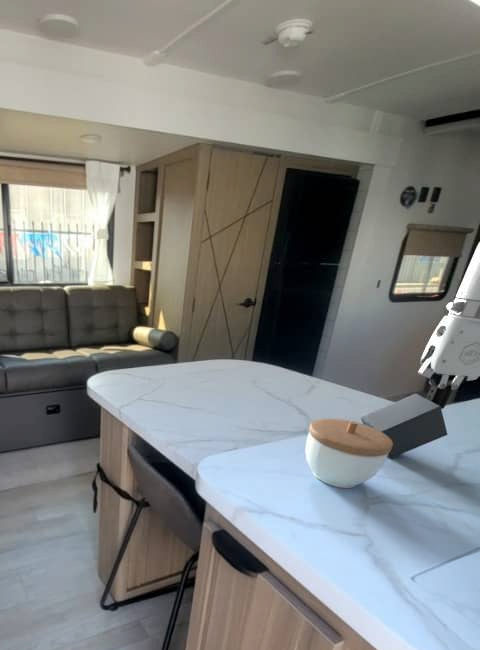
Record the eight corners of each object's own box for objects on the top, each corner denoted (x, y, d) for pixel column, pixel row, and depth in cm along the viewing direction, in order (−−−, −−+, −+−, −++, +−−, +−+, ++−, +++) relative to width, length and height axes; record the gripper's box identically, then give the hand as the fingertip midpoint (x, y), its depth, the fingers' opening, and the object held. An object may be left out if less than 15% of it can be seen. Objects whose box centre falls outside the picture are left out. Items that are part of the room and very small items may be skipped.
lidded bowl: (391, 490, 71) (416, 434, 66) (337, 502, 67) (360, 443, 62) (331, 456, 81) (349, 405, 77) (282, 464, 77) (297, 411, 72)
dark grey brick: (422, 420, 85) (415, 393, 83) (447, 434, 79) (440, 406, 76) (369, 443, 88) (360, 417, 85) (389, 459, 82) (380, 432, 79)
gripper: (451, 311, 69) (408, 410, 77) (538, 317, 69) (486, 416, 77) (420, 305, 76) (384, 396, 84) (500, 310, 76) (455, 401, 84)
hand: (433, 405), depth 80 cm, fingers closed
